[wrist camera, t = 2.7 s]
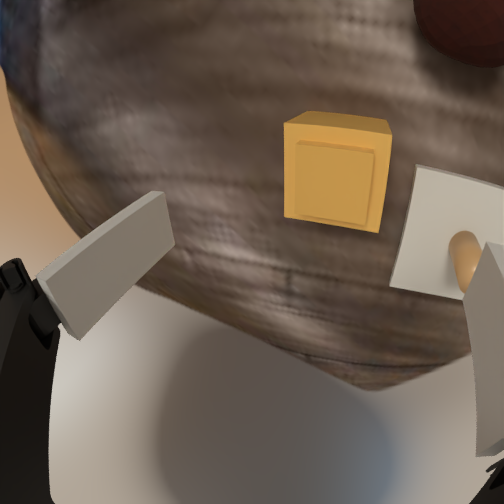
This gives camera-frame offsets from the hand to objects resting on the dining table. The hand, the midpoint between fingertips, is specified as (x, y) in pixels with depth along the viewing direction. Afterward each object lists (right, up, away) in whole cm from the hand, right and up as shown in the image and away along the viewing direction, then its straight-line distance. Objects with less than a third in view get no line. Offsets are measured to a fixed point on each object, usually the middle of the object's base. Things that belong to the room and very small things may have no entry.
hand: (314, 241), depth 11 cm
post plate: (+17, +1, +11) cm, 20 cm away
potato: (+13, +17, +1) cm, 22 cm away
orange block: (+5, +8, +12) cm, 15 cm away
